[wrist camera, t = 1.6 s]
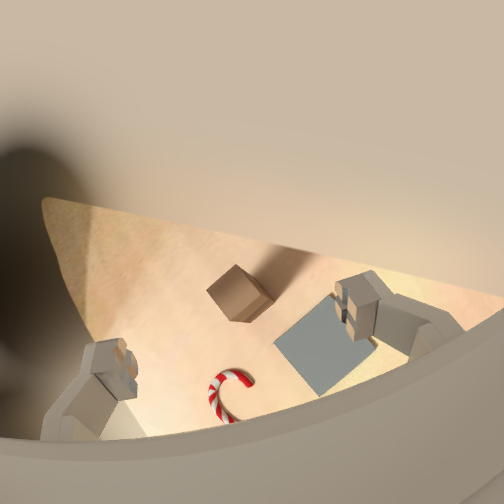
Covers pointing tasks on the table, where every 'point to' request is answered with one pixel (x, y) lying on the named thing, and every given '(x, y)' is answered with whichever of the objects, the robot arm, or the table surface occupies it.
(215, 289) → the walnut block
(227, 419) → the candy cane
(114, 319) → the table surface
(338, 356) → the slate mat
